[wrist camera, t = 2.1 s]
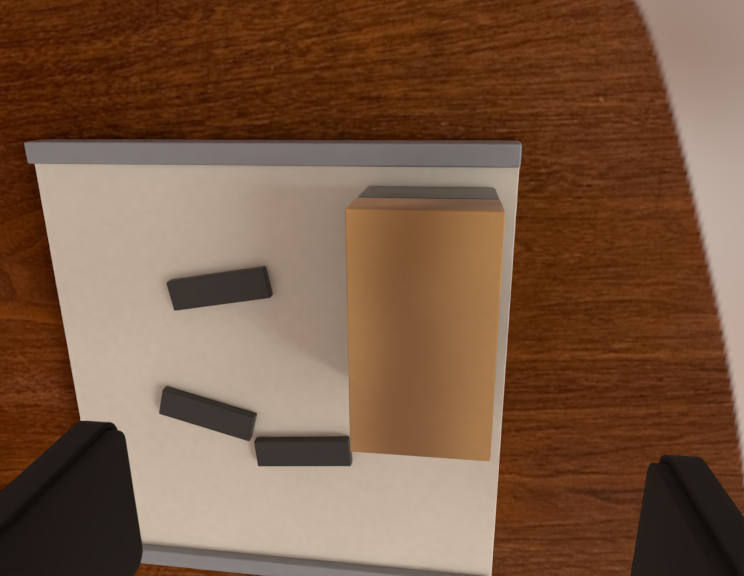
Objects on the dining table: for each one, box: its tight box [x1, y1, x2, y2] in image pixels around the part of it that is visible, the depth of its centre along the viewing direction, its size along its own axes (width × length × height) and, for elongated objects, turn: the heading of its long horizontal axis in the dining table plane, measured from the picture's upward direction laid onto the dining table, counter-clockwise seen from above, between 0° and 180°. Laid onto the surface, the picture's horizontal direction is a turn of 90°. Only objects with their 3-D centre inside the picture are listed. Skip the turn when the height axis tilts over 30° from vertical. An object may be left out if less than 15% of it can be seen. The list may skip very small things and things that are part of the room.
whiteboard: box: [24, 139, 522, 576], centre depth 24 cm, size 18×19×1 cm
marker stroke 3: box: [254, 436, 352, 466], centre depth 25 cm, size 4×1×1 cm, turn 96°
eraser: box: [345, 186, 506, 461], centre depth 20 cm, size 4×8×4 cm, turn 0°
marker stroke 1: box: [166, 266, 273, 311], centre depth 23 cm, size 4×1×1 cm, turn 100°
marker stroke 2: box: [159, 386, 257, 441], centre depth 25 cm, size 4×1×1 cm, turn 76°
